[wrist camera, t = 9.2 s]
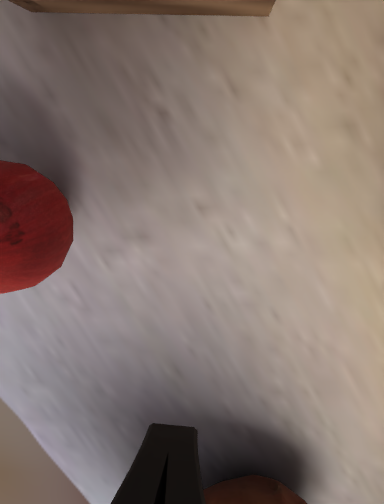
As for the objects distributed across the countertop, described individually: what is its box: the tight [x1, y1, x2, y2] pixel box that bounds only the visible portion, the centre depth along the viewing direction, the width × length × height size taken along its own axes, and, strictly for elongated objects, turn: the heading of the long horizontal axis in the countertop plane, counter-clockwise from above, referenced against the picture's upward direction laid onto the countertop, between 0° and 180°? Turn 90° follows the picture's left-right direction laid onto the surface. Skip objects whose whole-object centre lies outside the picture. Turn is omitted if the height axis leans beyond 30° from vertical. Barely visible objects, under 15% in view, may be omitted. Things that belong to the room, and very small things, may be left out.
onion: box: [0, 160, 73, 293], centre depth 15 cm, size 6×6×8 cm
